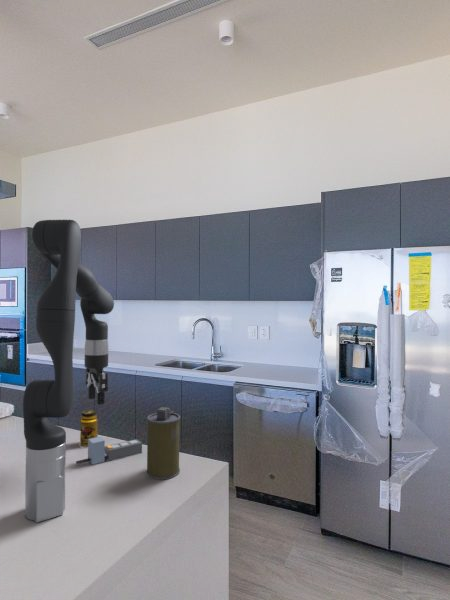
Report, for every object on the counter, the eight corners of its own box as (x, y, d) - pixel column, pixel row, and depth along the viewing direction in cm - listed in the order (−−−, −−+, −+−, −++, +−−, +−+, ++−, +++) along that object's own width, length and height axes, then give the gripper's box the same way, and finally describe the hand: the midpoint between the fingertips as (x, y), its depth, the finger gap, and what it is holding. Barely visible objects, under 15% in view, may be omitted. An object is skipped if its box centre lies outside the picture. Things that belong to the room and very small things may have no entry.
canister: (170, 482, 113) (171, 414, 113) (139, 476, 117) (140, 411, 117) (185, 467, 124) (186, 405, 124) (157, 462, 127) (157, 402, 127)
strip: (141, 452, 135) (142, 441, 135) (108, 461, 128) (108, 449, 128) (136, 448, 138) (136, 437, 138) (103, 456, 131) (104, 445, 131)
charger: (107, 460, 127) (108, 439, 127) (78, 468, 121) (78, 446, 122) (103, 456, 131) (103, 435, 131) (74, 463, 125) (74, 442, 125)
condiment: (80, 448, 138) (81, 415, 138) (76, 441, 145) (76, 409, 145) (101, 445, 142) (101, 412, 142) (96, 437, 149) (96, 407, 149)
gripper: (115, 354, 124) (115, 404, 124) (100, 349, 135) (99, 395, 135) (92, 356, 119) (92, 408, 119) (78, 351, 131) (77, 398, 131)
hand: (96, 401), depth 127 cm, fingers open, 8 cm apart
